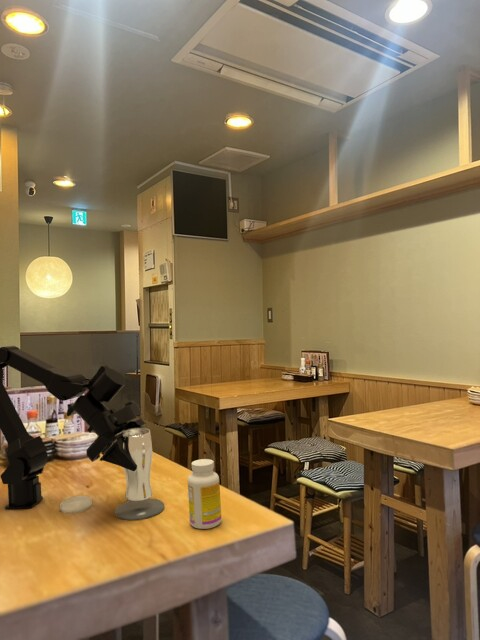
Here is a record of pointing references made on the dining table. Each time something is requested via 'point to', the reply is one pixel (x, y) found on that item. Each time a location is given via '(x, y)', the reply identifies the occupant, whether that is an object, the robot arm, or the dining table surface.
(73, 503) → the dish
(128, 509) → the coaster
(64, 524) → the dining table surface
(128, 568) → the dining table surface
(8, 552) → the dining table surface
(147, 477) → the beer glass
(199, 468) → the supplement bottle
